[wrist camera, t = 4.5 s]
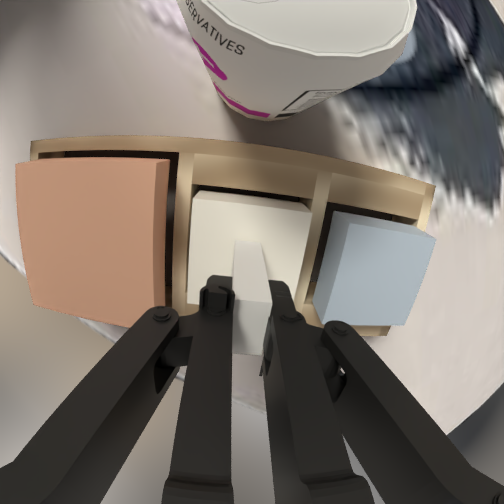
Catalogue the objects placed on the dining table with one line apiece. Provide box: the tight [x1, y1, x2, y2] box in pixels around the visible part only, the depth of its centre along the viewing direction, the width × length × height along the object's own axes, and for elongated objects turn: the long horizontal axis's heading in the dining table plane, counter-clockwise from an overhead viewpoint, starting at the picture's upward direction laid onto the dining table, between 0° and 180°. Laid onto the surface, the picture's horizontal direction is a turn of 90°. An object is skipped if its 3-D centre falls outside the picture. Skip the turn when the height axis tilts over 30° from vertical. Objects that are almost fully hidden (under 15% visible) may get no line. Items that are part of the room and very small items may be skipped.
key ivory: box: [187, 190, 312, 305], centre depth 19 cm, size 7×7×4 cm
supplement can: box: [176, 0, 417, 121], centre depth 11 cm, size 8×8×15 cm
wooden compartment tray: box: [30, 135, 436, 336], centre depth 21 cm, size 14×32×4 cm, turn 82°
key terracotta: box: [16, 157, 170, 328], centre depth 17 cm, size 11×11×4 cm
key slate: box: [312, 211, 436, 326], centre depth 19 cm, size 7×7×4 cm
